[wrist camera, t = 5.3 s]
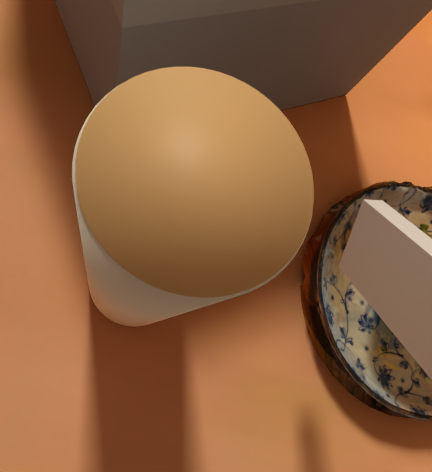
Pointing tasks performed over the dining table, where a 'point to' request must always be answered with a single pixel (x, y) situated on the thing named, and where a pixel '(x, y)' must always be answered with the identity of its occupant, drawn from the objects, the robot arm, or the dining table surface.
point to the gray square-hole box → (239, 41)
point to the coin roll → (186, 193)
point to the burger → (363, 310)
